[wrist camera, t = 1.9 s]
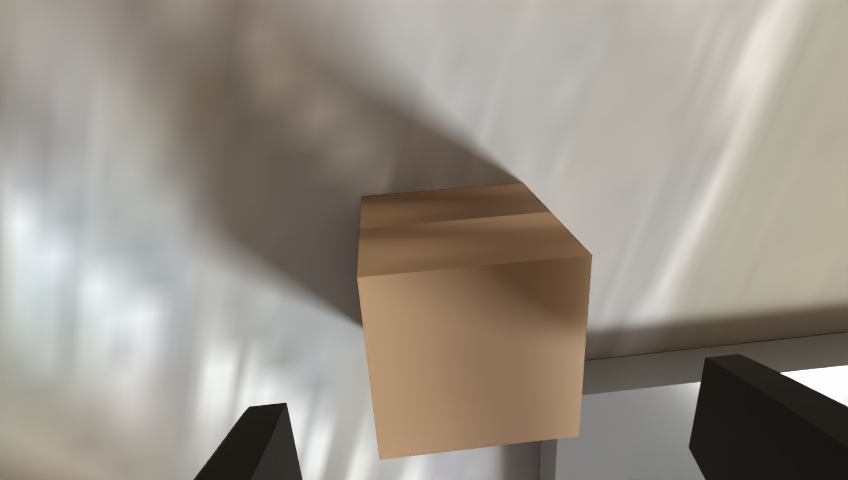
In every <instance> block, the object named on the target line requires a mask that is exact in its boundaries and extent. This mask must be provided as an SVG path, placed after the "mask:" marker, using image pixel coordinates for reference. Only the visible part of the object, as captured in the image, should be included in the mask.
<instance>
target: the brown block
mask: <svg viewBox="0 0 848 480" xmlns="http://www.w3.org/2000/svg"><path fill="white" fill-rule="evenodd" d="M591 263H592V255H591V253H590V252H589V251H588V250H587V249H586V248H585V247H584V246H583V245H582V244H581V243H580V242H579V241H578V240H577V239H576V238H575V237H574V236H573V235H572V234H571V233H570V231H569V230H568V229H567V228H566V227H565V226H564V225H563V224H562V223H561V222H560V221H559V220H558V219H557V218H556V217H555V216H554V215H553V214H552V213H551V212H550V210H549V209H548V208H547V207H546V206H545V205H544V204H543V203H542V202H541V201H540V200H539V199H538V198H537V197H536V196H535V195H534V194H533V193H532V192H531V191H530V190H529V188H528V187H527V186H526V185H525V184H524V183H512V184H501V185H489V186H477V187H466V188H454V189H442V190H431V191H419V192H407V193H396V194H384V195H372V196H362V199H361V217H360V234H359V252H358V270H357V281H358V289H359V297H360V306H361V314H362V322H363V330H364V338H365V346H366V354H367V362H368V370H369V378H370V386H371V394H372V403H373V411H374V419H375V427H376V435H377V443H378V451H379V459H380V460H381V459H389V458H398V457H406V456H415V455H423V454H431V453H440V452H448V451H457V450H465V449H474V448H482V447H491V446H499V445H508V444H516V443H525V442H533V441H542V440H550V439H559V438H567V437H576V436H579V427H580V413H581V399H582V386H583V372H584V358H585V345H586V331H587V317H588V304H589V290H590V277H591Z"/></svg>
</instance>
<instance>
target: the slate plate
mask: <svg viewBox="0 0 848 480" xmlns="http://www.w3.org/2000/svg"><path fill="white" fill-rule="evenodd" d="M734 354H740V355H743V356H745V357H747V358H750V359H752V360H754V361H757V362H759V363H761V364H763V365H765V366H767V367H769V368H771V369H774V370H776V371H778V372H780V373H782V374H784V375H786V376H788V377H790V378H792V379H794V380H796V381H798V382H800V383H802V384H804V385H806V386H808V387H810V388H812V389H814V390H816V391H818V392H820V393H822V394H824V395H826V396H828V397H830V398H832V399H834V400H836V401H838V402H840V403H842V404H843V405H845V406H847V407H848V332H846V333H837V334H828V335H818V336H809V337H800V338H791V339H781V340H772V341H763V342H754V343H745V344H735V345H726V346H717V347H708V348H699V349H689V350H680V351H671V352H662V353H652V354H643V355H634V356H625V357H616V358H606V359H597V360H588V361H584V372H583V386H582V399H581V413H580V427H579V436H576V437H567V438H559V439H550V440H542V441H540V468H539V480H705V478H704V476H703V474H702V472H701V471H700V469H699V467H698V465H697V463H696V461H695V459H694V457H693V455H692V453H691V451H690V449H689V442H690V437H691V432H692V426H693V421H694V415H695V410H696V405H697V399H698V394H699V388H700V383H701V378H702V372H703V367H704V361H705V358H706V357H715V356H724V355H734Z"/></svg>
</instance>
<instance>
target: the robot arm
mask: <svg viewBox="0 0 848 480" xmlns="http://www.w3.org/2000/svg"><path fill="white" fill-rule="evenodd" d="M689 449H690V451H691V453H692V455H693V457H694V459H695V461H696V463H697V465H698V467H699V469H700V471H701V472H702V474H703V476H704V478H705V480H848V407H847V406H845V405H843V404H842V403H840V402H838V401H836V400H834V399H832V398H830V397H828V396H826V395H824V394H822V393H820V392H818V391H816V390H814V389H812V388H810V387H808V386H806V385H804V384H802V383H800V382H798V381H796V380H794V379H792V378H790V377H788V376H786V375H784V374H782V373H780V372H778V371H776V370H774V369H771V368H769V367H767V366H765V365H763V364H761V363H759V362H757V361H754V360H752V359H750V358H747V357H745V356H743V355H740V354H734V355H724V356H715V357H706V358H705V361H704V367H703V372H702V378H701V383H700V388H699V394H698V399H697V405H696V410H695V415H694V421H693V426H692V432H691V437H690V442H689ZM194 480H302V476H301V471H300V466H299V461H298V456H297V451H296V447H295V442H294V437H293V432H292V427H291V422H290V418H289V413H288V408H287V403H279V404H270V405H261V406H252V407H249V408H248V409H247V410H246V411H245V412H244V413H243V415H242V416H241V417H240V419H239V420H238V421H237V423H236V424H235V425H234V427H233V428H232V429H231V431H230V432H229V433H228V435H227V436H226V437H225V439H224V440H223V441H222V443H221V444H220V445H219V447H218V448H217V449H216V451H215V452H214V454H213V455H212V456H211V457H210V459H209V460H208V461H207V463H206V464H205V465H204V467H203V468H202V469H201V471H200V472H199V473H198V475H197V476H196V477H195V479H194Z"/></svg>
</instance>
